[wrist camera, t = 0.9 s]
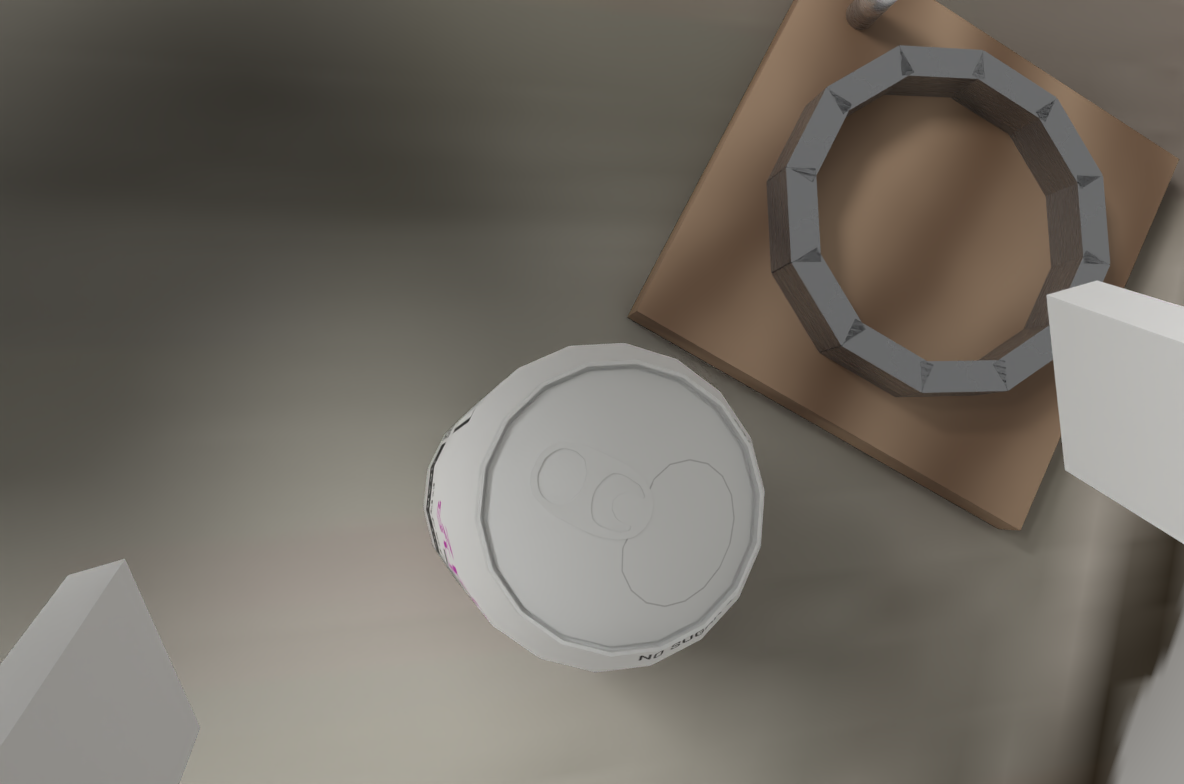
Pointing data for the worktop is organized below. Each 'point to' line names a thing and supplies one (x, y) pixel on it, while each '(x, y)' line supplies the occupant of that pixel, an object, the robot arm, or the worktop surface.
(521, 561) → the supplement can
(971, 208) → the seat plate
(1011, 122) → the steel collar
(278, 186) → the worktop surface
